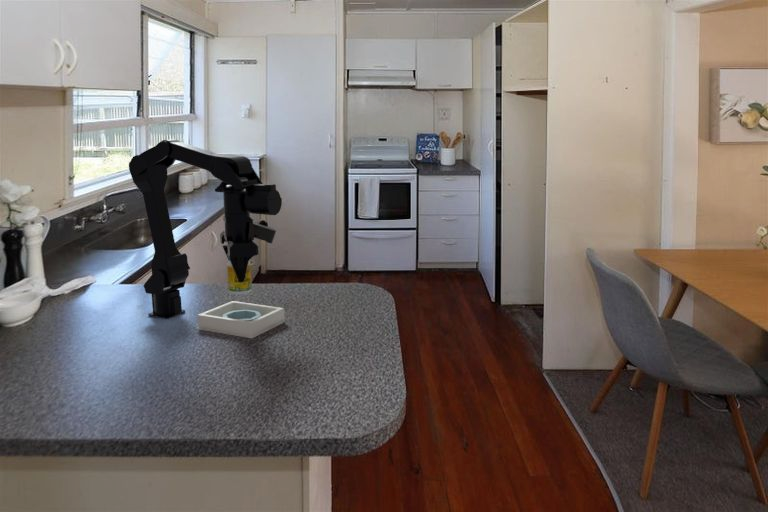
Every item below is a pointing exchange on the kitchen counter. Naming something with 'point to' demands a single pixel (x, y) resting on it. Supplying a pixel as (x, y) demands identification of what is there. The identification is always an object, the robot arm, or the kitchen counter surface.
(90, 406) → the kitchen counter surface
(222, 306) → the socket box
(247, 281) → the supplement bottle
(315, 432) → the kitchen counter surface
